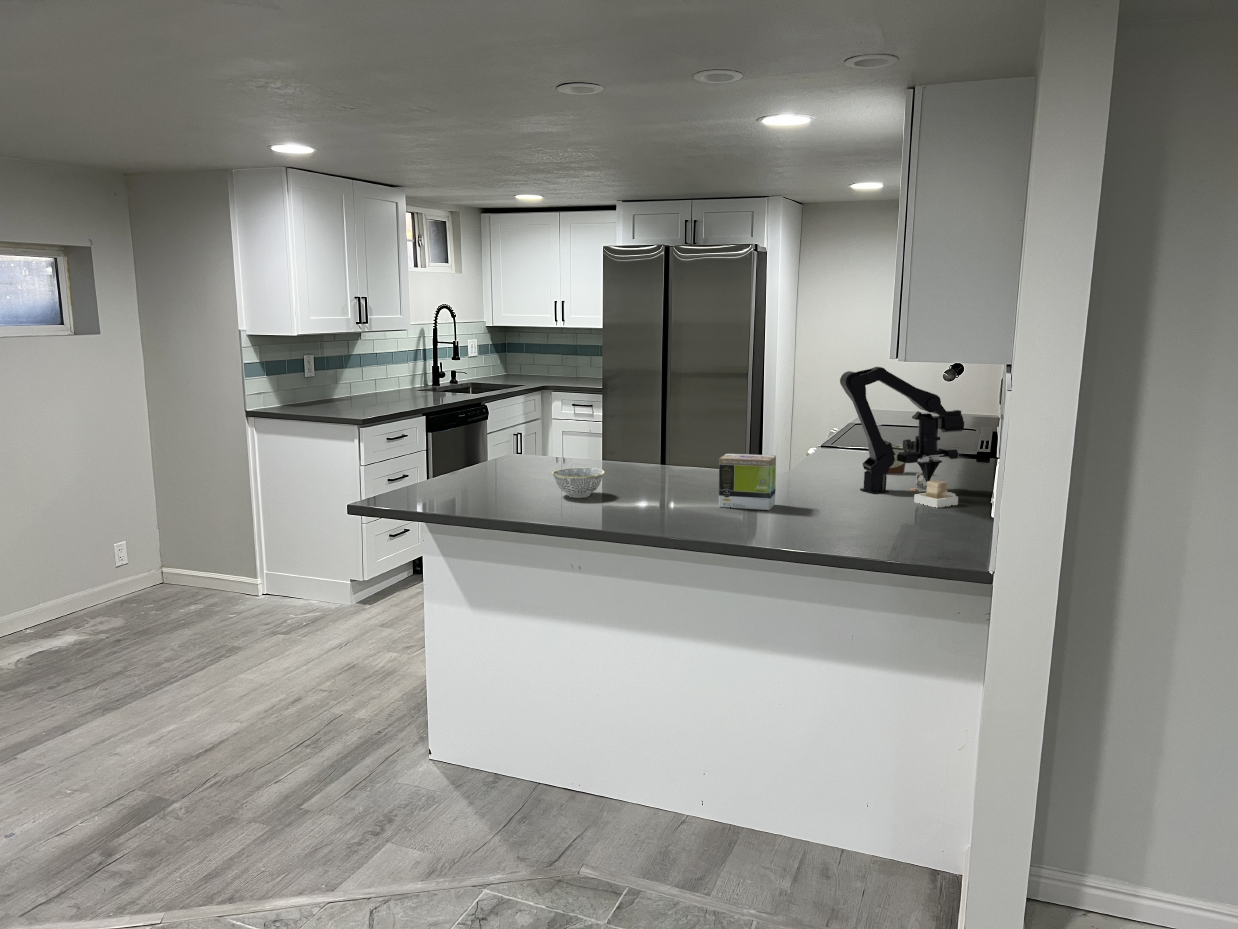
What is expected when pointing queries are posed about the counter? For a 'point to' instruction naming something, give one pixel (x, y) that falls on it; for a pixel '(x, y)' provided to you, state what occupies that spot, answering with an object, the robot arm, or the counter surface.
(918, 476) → the crank
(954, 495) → the crank base
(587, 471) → the bowl
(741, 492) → the tea box
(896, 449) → the food container
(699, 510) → the counter surface
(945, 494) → the block
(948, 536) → the counter surface
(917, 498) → the tray
